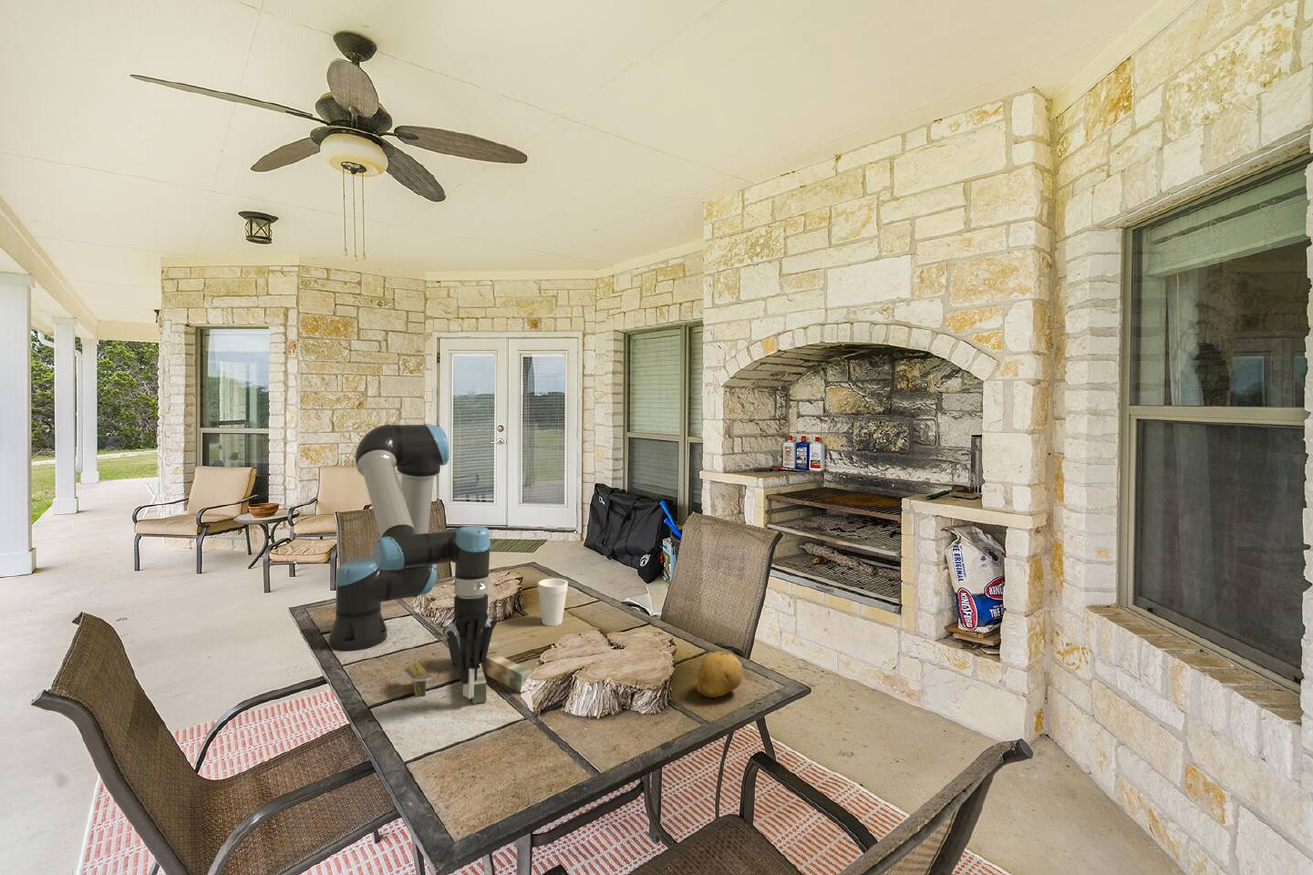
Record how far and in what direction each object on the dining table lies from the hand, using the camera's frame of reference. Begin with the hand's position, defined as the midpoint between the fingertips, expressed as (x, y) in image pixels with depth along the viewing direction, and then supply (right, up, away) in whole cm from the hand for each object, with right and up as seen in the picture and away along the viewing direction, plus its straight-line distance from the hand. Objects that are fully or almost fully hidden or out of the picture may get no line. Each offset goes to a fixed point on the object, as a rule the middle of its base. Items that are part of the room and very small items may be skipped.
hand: (468, 695), depth 140 cm
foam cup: (+10, 0, +55) cm, 56 cm away
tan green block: (+4, -2, +13) cm, 13 cm away
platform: (-15, -2, +6) cm, 16 cm away
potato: (+59, -4, +10) cm, 60 cm away
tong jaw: (-1, -1, +9) cm, 9 cm away
